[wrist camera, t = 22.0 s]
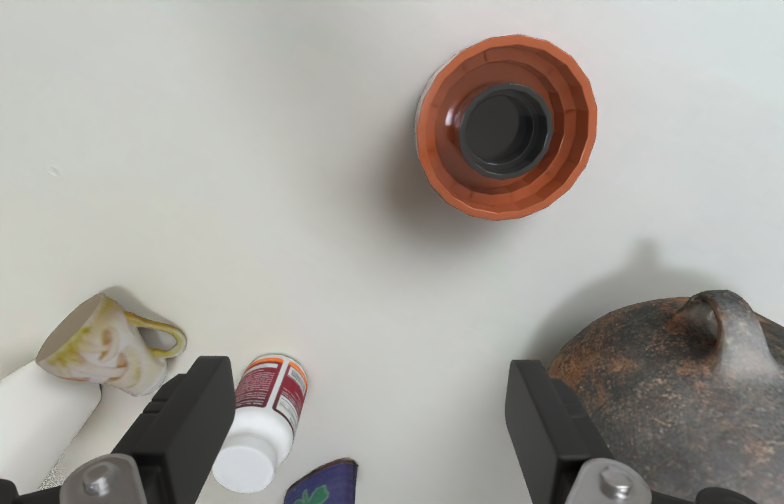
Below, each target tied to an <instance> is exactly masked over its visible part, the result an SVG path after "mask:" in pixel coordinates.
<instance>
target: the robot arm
mask: <svg viewBox="0 0 784 504" xmlns="http://www.w3.org/2000/svg"><path fill="white" fill-rule="evenodd" d="M235 411H236V398H235V391H234V384H233V376H232V369H231V362H230V359H229V357H227V356H199V357H198V358H197V360H196V361H195V362H194V364H193V365H192V367H191V368H190V369H189V371H188V372H187V374H178V375H176V376H175V377H174V378H172V379H171V380H169V381H168V382H166V383H165V384H164V385H162V386H161V388H160V389H159V390H158V392H157V393H156V394H155V396H154V397H153V398H152V401H151V402H149V403H148V405H147V406H146V407H145V409H144V410H143V414H140V415H139V417H138V418H137V419H136V421H135V422H134V423H133V424H132V426H131V427H130V428H129V430H128V431H127V432H126V434H125V435H124V436H123V438H122V439H121V440H120V441H119V443H118V444H117V445H116V447H115V448H114V449H113V451H112V452H111V453H110V454H108V455H104V456H100V457H98V458H95V459H93V460H90V461H89V462H87V463H85V464H83V465H82V466H80V467H79V468H77V469H76V470H75V471H74V472H72V473H71V474H70V475H69V476H68V477H67V479H66V480H65V481H64V483H63V485H61V486H57V487H53V488H49V489H45V490H41V491H36V492H32V493H28V494H24V495H20V496H19V494H18V491H17V488H16V486H15V484H14V483H13V482H12V481H10V480H7V479H0V504H195V502H196V500H197V498H198V496H199V494H200V492H201V490H202V487H203V485H204V483H205V481H206V479H207V477H208V475H209V473H210V470H211V468H212V466H213V464H214V462H215V460H216V458H217V456H218V453H219V451H220V449H221V447H222V445H223V443H224V441H225V439H226V436H227V434H228V432H229V430H230V428H231V426H232V424H233V421H234V417H235ZM505 418H506V424H507V428H508V431H509V434H510V437H511V440H512V443H513V446H514V449H515V452H516V455H517V458H518V461H519V464H520V467H521V470H522V473H523V476H524V479H525V482H526V485H527V488H528V490H529V493H530V496H531V499H532V502H533V504H757V503H756V502H754V501H753V500H751V499H750V498H748V497H746V496H744V495H742V494H740V493H738V492H735V491H732V490H729V489H725V488H721V487H707V488H704V489H702V490H700V491H699V492H698V494H697V496H696V498H695V501H694V502H692V501H688V500H685V499H681V498H677V497H673V496H670V495H666V494H662V493H659V492H656V491H653V490H651V489H650V488H649V486H648V484H647V483H646V481H645V480H644V479H643V478H642V477H641V476H640V475H639V474H638V473H637V472H636V471H634V470H633V469H632V468H630V467H628V466H627V465H625V464H623V463H621V462H618V461H616V460H615V458H614V457H613V455H612V453H611V452H610V450H609V448H608V447H607V445H606V443H605V441H604V440H603V438H602V436H601V435H600V433H599V431H598V430H597V428H596V426H595V425H594V423H593V421H592V420H591V419H590V418H589V415H588V413H587V411H586V410H585V408H584V407H583V406H582V403H581V401H580V399H579V398H578V396H577V394H576V393H575V391H574V390H573V389H572V388H570V387H569V386H568V385H567V384H566V383H564V382H563V381H562V380H561V379H559V378H549V376H548V374H547V372H546V370H545V369H544V367H543V365H542V363H541V362H540V361H539V360H512V361H511V364H510V370H509V378H508V386H507V394H506V402H505Z"/></svg>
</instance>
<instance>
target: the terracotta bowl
mask: <svg viewBox="0 0 784 504" xmlns="http://www.w3.org/2000/svg"><path fill="white" fill-rule="evenodd" d="M494 83H515V84H520V85H525V86H528V87H530V88H531V89H533V90H534V91H535V92H537V93H538V94H539V95H540V96H542V97H543V98H544V100H545V102H546V104H547V106H548V108H549V110H550V112H551V113H552V123H553V135H552V139H551V142H550V145H549V148H548V151H547V153H546V154H545V155H544V157H543V158H542V159H541V160H540V162H539V163H538V164H537V166H536V167H534V168H533V169H531V170H530V171H528V172H526V173H525V174H523V175H522V176H519V177H516V178H511V179H506V180H498V179H493V178H488V177H484V176H482V175H481V174H480V173H478V172H477V171H475V170H474V169H472V168H471V167H470V166H469V165H468V164H467V163H466V162H465V161H464V160H463V158H462V157H461V155H460V154H459V152H458V150H457V149H456V147H455V145H454V140H453V133H452V125H453V121H454V117H455V113H456V110H457V109H458V108H459V106H460V105H461V103H462V102H463V100H464V99H465V97H467V95H469V94H470V93H472V92H473V91H475V90H476V89H478V88H479V87H482V86H485V85H490V84H494ZM419 99H420V100H419V101H418V106H417V111H416V116H415V120H414V135H415V146H416V152H417V155H418V157H419V160H420V162H421V165H422V167H423V169H424V172H425V174H426V176H427V179H428V181H429V183H430V185H431V186H432V187H433V188H434V189H435V190H436V191H437V192H438V193H439V195H440V196H441V197H442V198H443V199H444V200H445V201H446V202H447V203H448V204H450V205H451V206H453V207H455V208H457V209H459V210H460V211H462V212H464V213H466V214H467V215H470V216H473V217H478V218H483V219H489V220H494V221H495V220H496V221H498V220H507V219H516V218H522V217H525V216H527V215H530V214H532V213H535V212H537V211H539V210H542V209H544V208H546V207H548V206H549V205H551V204H552V203H553V202H554V201H556V200H557V199H558V198H559V197H561V196H562V195H563V194H564V193H566V192H567V191H568V190H569V189H570V188H571V187H572V185H573V184H574V182H575V181H576V180H577V178H578V177H579V175H580V174H581V173H582V171H583V170H584V168H585V167H586V165H587V162H588V159H589V156H590V154H591V151H592V148H593V145H594V142H595V139H596V126H597V106H596V102H595V99H594V95H593V92H592V88H591V85H590V81H589V79H588V78H587V77H586V75H585V74H584V72H583V71H582V70H581V68H580V67H579V65H578V64H577V63H576V61H575V60H574V58H572V56H570V55H569V54H567V53H566V52H564V51H563V50H561V49H560V48H558V47H557V46H555V45H554V44H552V43H551V42H549V41H547V40H543V39H538V38H534V37H529V36H525V35H519V34H517V35H509V36H501V37H493V38H489V39H486V40H484V41H482V42H480V43H478V44H476V45H474V46H472V47H469V48H467V49H465V50H463V51H461V52H459V53H457V54H455V55H453V56H452V57H451V58H450V59H448V60H447V61H446V62H445V63H444V64H443V65H442V66H441V67H440V68H439V69H438V70H437V71H436V72H435V73H434V74H433V76H431V78H430V80H429V82H428V84H427V85H426V87H425V89H424V91H423V93H422V95H421V96H420V98H419Z"/></svg>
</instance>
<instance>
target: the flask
mask: <svg viewBox="0 0 784 504" xmlns="http://www.w3.org/2000/svg"><path fill="white" fill-rule="evenodd" d="M357 467H358V465H357V464H356V462H355V461H354V460H352V459H350V458H348V459H345V458H343V459H339V460H335V461H333V462H331V463H328V464H326V465H323V466H321V467H319V468H318V469H316V470H314V471H313V472H312V473H310V474H308V475H306V476H305V477H303V478H301V480H299V481H297V482H296V483H294V484H293V485H292V486H291V487H290V488H289V489H288V491H287V493H286V496H285V499H284V504H355V487H356V477H357Z"/></svg>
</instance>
